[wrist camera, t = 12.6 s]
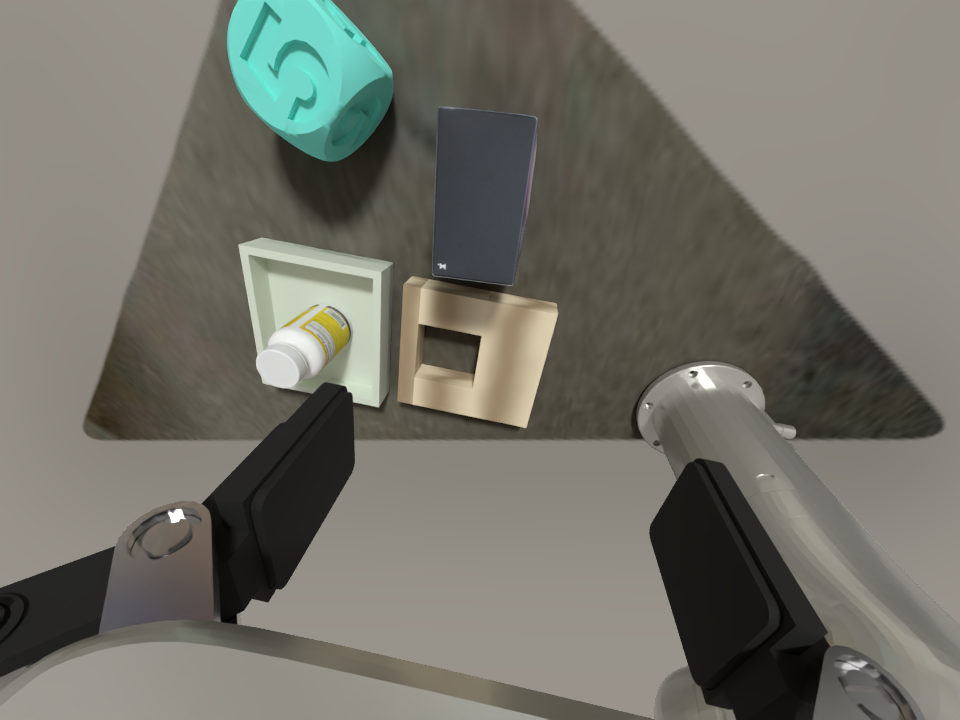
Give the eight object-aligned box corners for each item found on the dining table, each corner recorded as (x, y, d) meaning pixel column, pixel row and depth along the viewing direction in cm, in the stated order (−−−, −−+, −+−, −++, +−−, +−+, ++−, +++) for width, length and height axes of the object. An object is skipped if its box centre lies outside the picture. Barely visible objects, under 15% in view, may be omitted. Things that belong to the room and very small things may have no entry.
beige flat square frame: (556, 303, 37) (557, 314, 34) (526, 411, 44) (526, 427, 41) (412, 275, 38) (403, 284, 35) (405, 387, 45) (397, 401, 42)
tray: (393, 262, 37) (381, 271, 34) (389, 390, 45) (378, 407, 42) (262, 237, 38) (238, 244, 35) (280, 368, 46) (262, 383, 43)
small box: (521, 256, 35) (516, 291, 26) (454, 248, 36) (427, 279, 27) (540, 128, 30) (542, 115, 21) (462, 120, 31) (432, 103, 21)
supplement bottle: (309, 342, 42) (252, 389, 34) (304, 297, 39) (241, 336, 31) (355, 350, 42) (309, 399, 33) (353, 306, 39) (302, 347, 31)
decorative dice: (328, -6, 28) (260, -61, 21) (407, 85, 30) (369, 62, 23) (279, 87, 31) (206, 67, 24) (353, 163, 33) (305, 164, 26)
